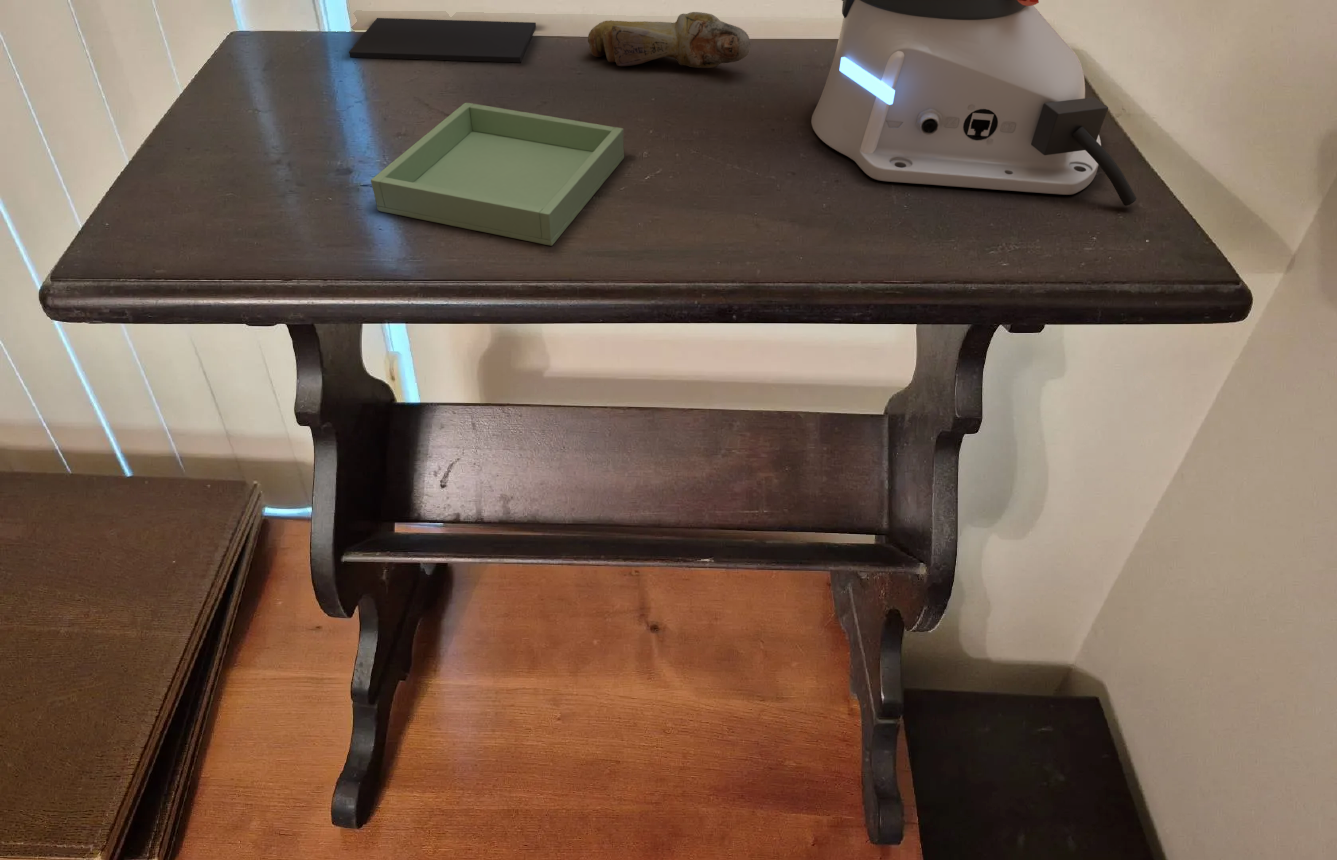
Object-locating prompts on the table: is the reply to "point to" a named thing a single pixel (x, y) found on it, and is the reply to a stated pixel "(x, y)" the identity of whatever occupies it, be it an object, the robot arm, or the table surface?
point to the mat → (445, 40)
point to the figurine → (670, 41)
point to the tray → (501, 172)
